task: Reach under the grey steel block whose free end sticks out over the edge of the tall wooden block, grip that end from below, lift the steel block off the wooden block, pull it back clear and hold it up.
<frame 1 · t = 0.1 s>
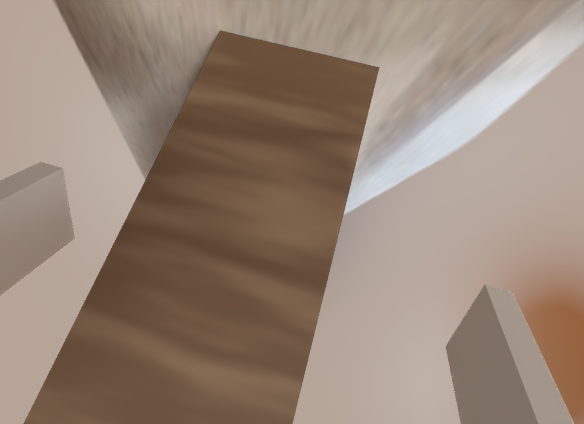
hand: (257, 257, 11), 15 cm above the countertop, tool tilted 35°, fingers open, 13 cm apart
wooden block: (294, 118, 29), on the countertop
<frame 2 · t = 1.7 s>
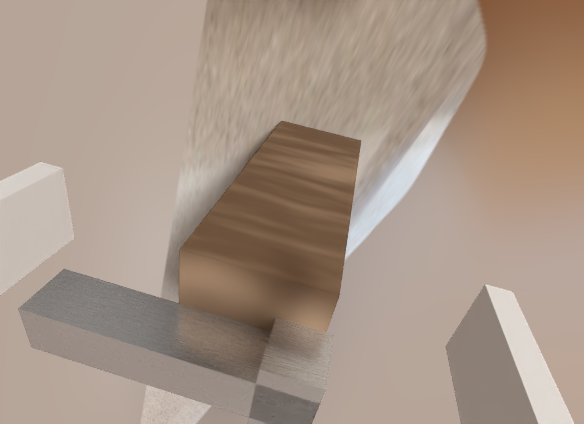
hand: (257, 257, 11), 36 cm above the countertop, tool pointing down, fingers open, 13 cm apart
wooden block: (309, 178, 50), on the countertop
steel block: (191, 325, 27), point 28 cm above the countertop, touching wooden block
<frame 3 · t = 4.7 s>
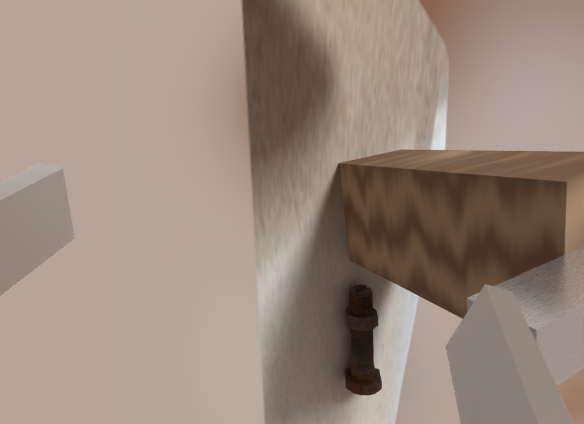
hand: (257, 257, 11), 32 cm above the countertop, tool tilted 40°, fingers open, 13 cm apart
bolt: (353, 329, 54), on the countertop
wooden block: (375, 204, 52), on the countertop
steel block: (572, 277, 25), point 28 cm above the countertop, touching wooden block
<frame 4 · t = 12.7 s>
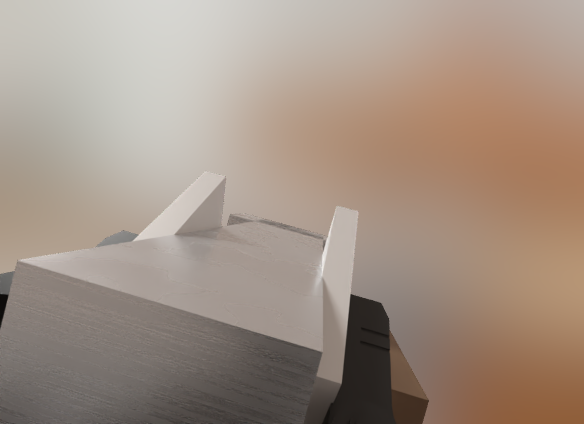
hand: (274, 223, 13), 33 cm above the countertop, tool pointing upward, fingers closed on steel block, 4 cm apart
steel block: (248, 334, 14), point 28 cm above the countertop, touching gripper, wooden block
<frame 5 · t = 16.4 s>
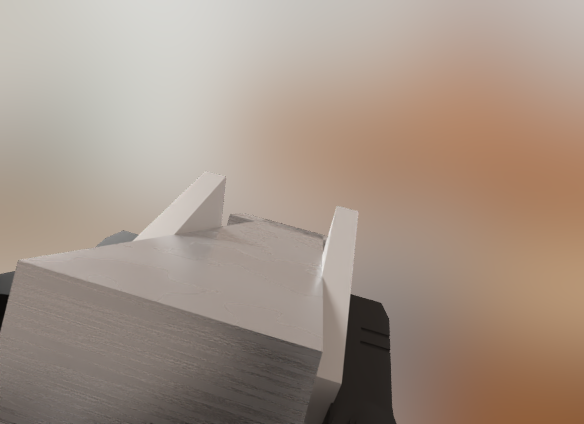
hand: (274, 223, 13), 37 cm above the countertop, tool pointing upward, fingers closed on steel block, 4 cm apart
steel block: (248, 334, 14), point 32 cm above the countertop, touching gripper
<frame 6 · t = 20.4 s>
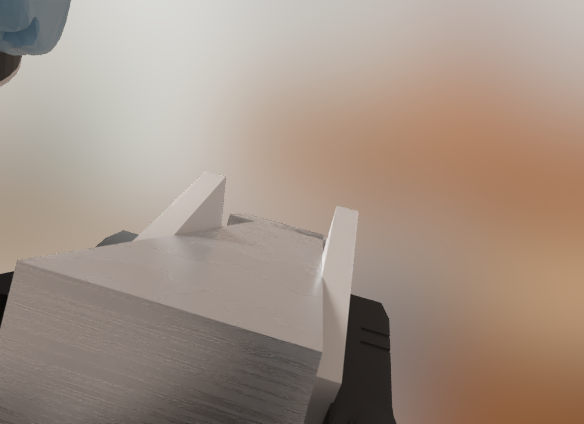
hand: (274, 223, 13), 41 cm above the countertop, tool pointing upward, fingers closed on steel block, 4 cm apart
steel block: (248, 334, 14), point 36 cm above the countertop, touching gripper
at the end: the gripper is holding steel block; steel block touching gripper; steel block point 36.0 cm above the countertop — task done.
